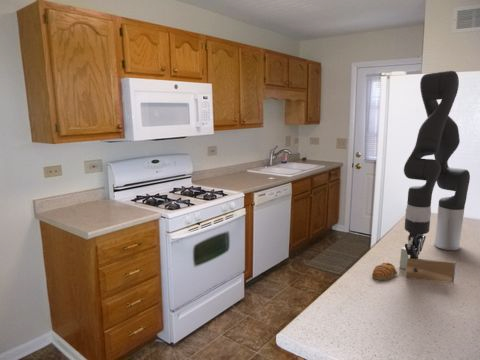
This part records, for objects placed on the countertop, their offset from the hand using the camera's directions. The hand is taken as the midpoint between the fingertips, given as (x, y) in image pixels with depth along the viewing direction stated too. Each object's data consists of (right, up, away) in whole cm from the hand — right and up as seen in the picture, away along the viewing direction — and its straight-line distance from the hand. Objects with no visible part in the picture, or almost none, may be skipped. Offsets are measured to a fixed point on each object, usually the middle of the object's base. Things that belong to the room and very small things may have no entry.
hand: (413, 264), depth 122 cm
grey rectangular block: (+5, -4, +1) cm, 6 cm away
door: (+3, -4, -4) cm, 7 cm away
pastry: (-10, -4, +1) cm, 11 cm away
